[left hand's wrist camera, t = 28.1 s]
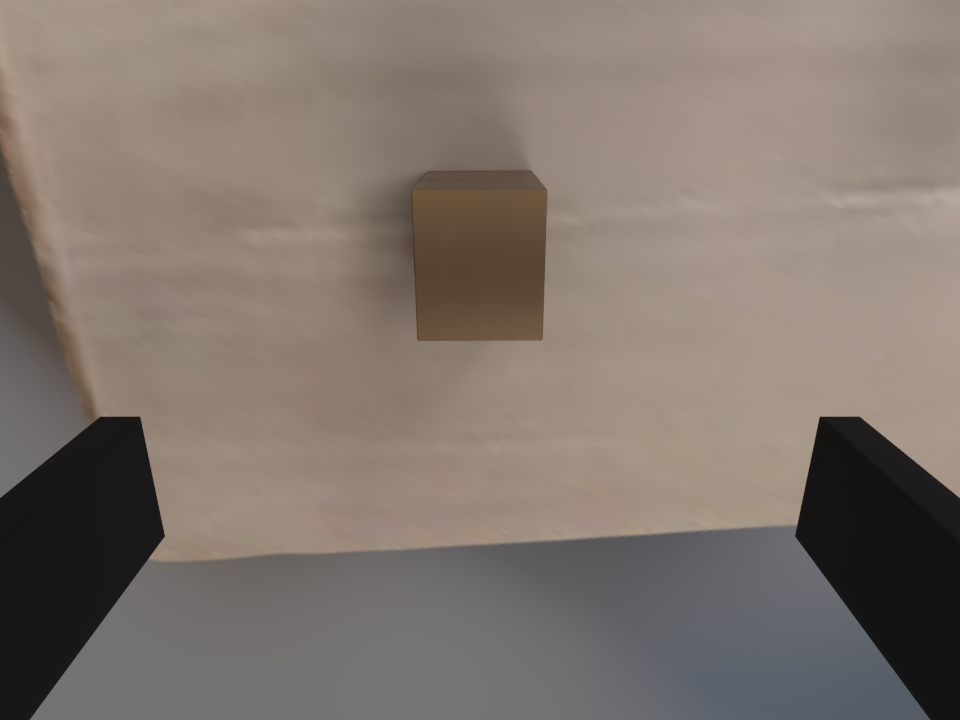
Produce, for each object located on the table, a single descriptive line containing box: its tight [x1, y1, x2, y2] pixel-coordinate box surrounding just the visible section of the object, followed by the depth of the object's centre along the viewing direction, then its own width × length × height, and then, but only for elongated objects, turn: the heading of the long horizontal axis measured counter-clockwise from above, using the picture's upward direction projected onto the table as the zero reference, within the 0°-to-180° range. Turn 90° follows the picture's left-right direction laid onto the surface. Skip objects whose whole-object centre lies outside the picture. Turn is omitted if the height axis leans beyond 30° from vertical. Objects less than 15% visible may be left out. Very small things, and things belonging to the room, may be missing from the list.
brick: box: [411, 171, 547, 341], centre depth 34 cm, size 7×6×9 cm
